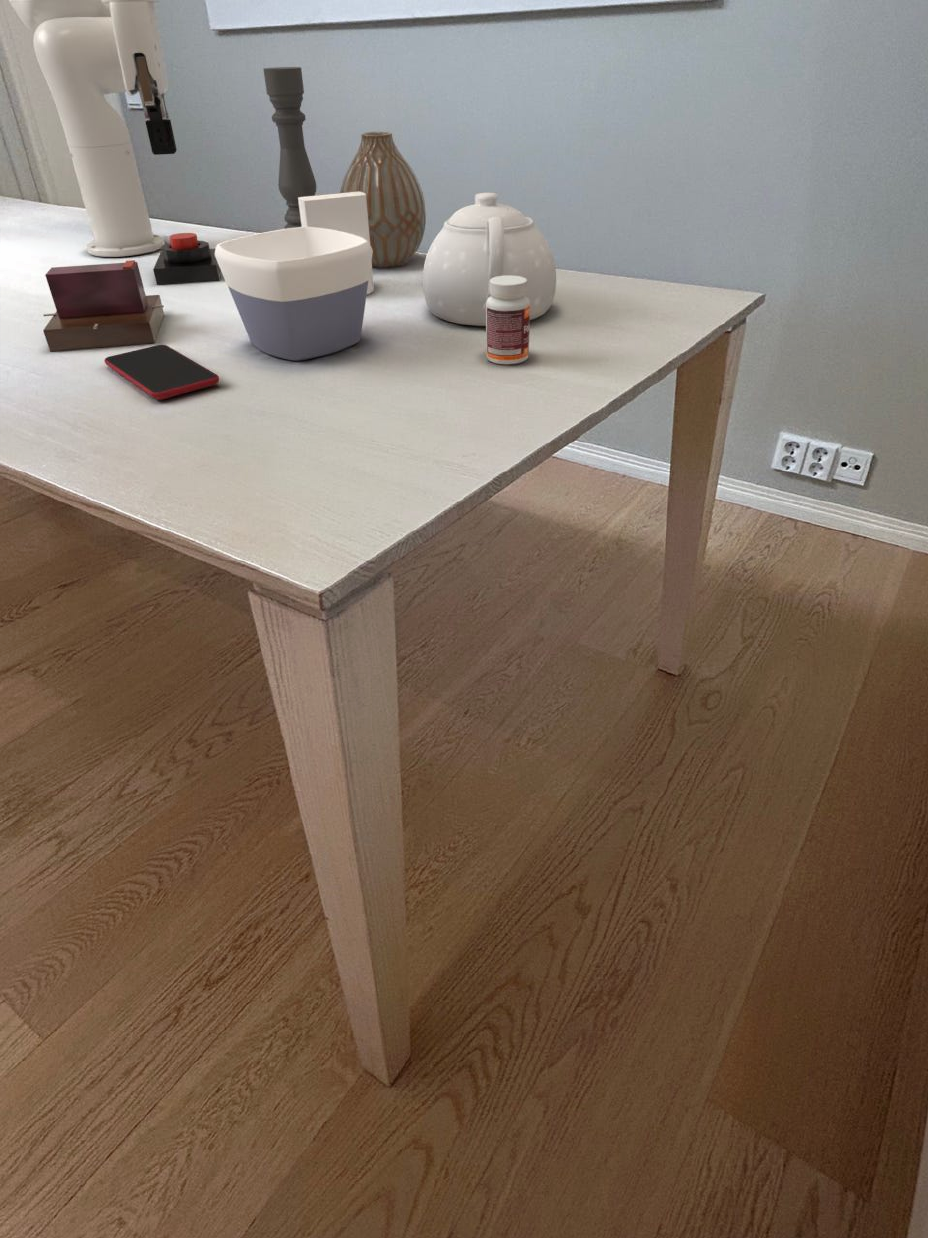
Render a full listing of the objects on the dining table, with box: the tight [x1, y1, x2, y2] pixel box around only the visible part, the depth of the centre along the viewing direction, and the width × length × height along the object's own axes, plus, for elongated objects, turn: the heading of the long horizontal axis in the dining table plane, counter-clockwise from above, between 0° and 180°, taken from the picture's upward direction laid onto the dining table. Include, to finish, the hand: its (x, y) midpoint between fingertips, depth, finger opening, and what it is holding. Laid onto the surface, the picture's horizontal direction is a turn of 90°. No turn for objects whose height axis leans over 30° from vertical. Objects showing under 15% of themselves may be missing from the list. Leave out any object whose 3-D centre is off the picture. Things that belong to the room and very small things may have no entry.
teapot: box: [422, 192, 557, 327], centre depth 100 cm, size 19×18×14 cm
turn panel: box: [42, 294, 165, 352], centre depth 99 cm, size 14×14×3 cm
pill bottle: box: [485, 275, 531, 365], centre depth 87 cm, size 5×5×8 cm
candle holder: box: [262, 66, 318, 229], centre depth 127 cm, size 6×6×25 cm
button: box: [168, 232, 199, 249], centre depth 120 cm, size 4×4×2 cm
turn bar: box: [44, 259, 148, 318], centre depth 97 cm, size 10×4×5 cm, turn 101°
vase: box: [339, 131, 427, 269], centre depth 120 cm, size 13×13×18 cm
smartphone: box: [103, 344, 220, 401], centre depth 87 cm, size 7×1×15 cm
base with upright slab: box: [298, 192, 375, 295], centre depth 109 cm, size 9×9×12 cm
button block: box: [152, 239, 222, 286], centre depth 121 cm, size 11×9×4 cm
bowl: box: [214, 227, 373, 362], centre depth 91 cm, size 15×15×11 cm
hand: (164, 152), depth 112 cm, fingers closed
